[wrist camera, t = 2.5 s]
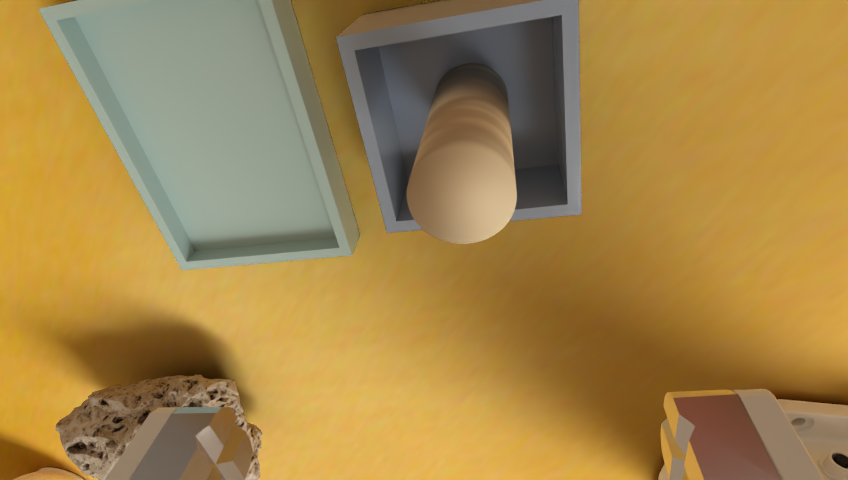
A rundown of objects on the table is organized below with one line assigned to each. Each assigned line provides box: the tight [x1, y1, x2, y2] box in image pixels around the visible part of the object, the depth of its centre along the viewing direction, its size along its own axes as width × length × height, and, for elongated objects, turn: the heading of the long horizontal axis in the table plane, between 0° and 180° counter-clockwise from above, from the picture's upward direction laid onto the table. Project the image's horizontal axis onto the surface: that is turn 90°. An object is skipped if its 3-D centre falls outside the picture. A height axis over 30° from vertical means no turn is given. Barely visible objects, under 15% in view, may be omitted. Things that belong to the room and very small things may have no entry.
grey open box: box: [336, 0, 582, 233], centre depth 23 cm, size 9×9×5 cm
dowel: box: [407, 63, 517, 244], centre depth 20 cm, size 4×4×10 cm
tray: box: [38, 0, 360, 270], centre depth 27 cm, size 11×15×2 cm
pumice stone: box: [56, 374, 262, 480], centre depth 38 cm, size 14×12×8 cm
